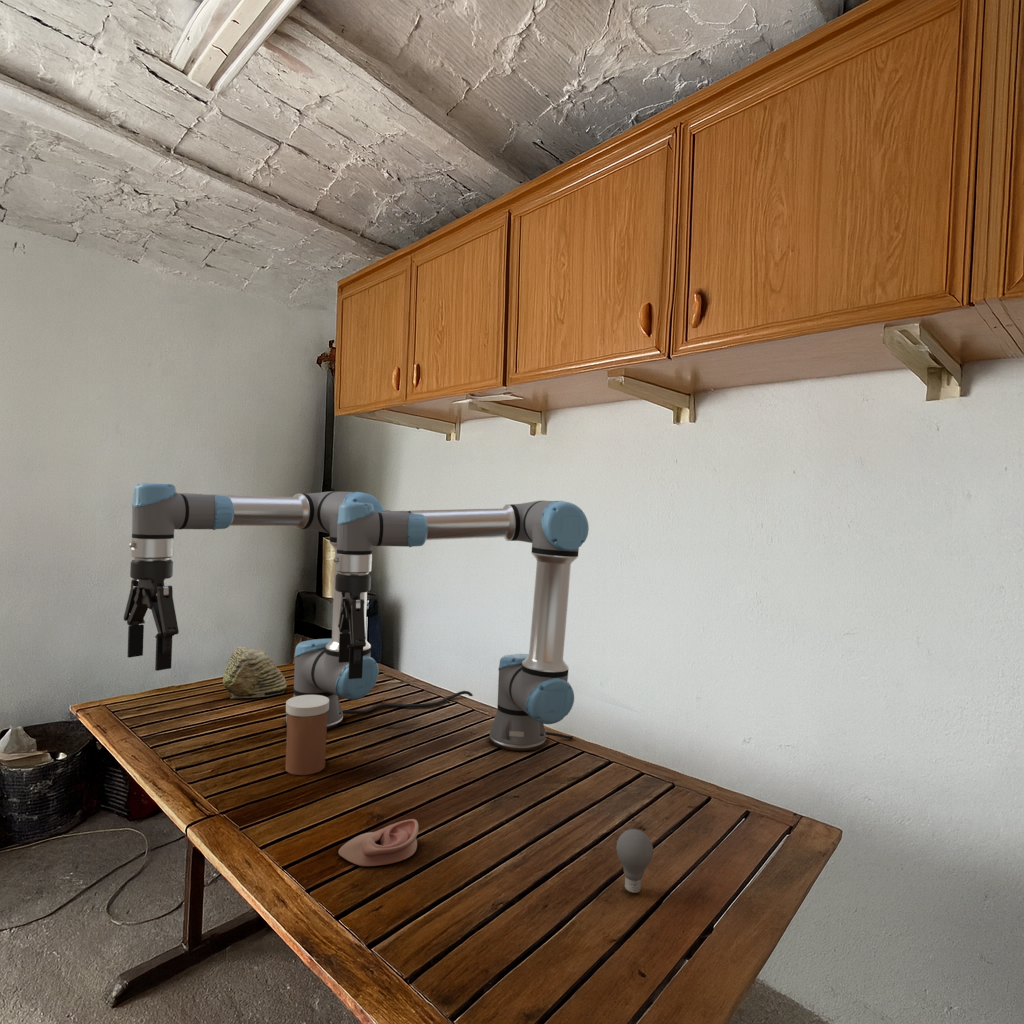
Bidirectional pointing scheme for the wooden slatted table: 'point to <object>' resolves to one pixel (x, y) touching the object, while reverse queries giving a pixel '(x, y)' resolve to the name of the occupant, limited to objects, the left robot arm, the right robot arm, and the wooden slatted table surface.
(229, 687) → the fossil
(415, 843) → the anatomical model
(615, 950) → the wooden slatted table surface
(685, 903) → the wooden slatted table surface
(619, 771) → the wooden slatted table surface
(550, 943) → the wooden slatted table surface
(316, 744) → the jar
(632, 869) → the light bulb
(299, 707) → the lid
